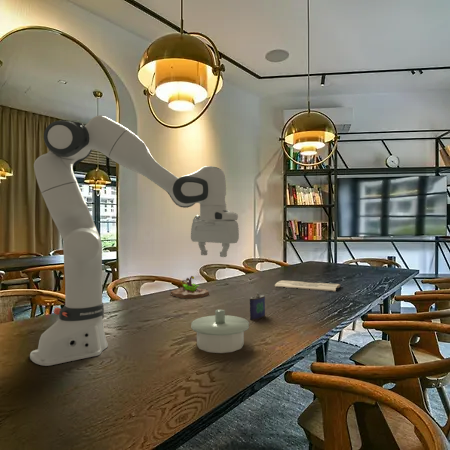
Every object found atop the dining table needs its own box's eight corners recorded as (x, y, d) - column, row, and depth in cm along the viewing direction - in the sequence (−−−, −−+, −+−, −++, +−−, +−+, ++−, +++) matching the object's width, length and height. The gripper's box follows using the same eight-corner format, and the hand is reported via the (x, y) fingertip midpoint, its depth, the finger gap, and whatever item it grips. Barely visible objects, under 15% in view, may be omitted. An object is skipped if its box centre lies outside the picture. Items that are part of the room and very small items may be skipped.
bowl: (219, 356, 106) (219, 336, 106) (188, 344, 117) (188, 326, 117) (252, 344, 117) (252, 326, 117) (220, 334, 128) (220, 317, 128)
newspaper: (340, 287, 221) (340, 283, 221) (335, 293, 203) (335, 288, 203) (283, 283, 237) (283, 279, 237) (273, 288, 220) (273, 283, 220)
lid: (220, 339, 104) (220, 321, 104) (179, 326, 117) (179, 311, 117) (260, 325, 117) (260, 310, 117) (220, 315, 131) (220, 301, 131)
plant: (184, 300, 185) (183, 279, 185) (166, 295, 201) (166, 275, 201) (214, 295, 197) (214, 275, 197) (195, 290, 213) (195, 272, 213)
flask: (261, 315, 154) (261, 290, 154) (267, 316, 152) (267, 291, 152) (248, 319, 147) (248, 293, 147) (254, 320, 145) (253, 294, 145)
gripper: (186, 215, 124) (186, 254, 124) (228, 214, 110) (228, 258, 110) (199, 215, 129) (200, 253, 129) (241, 214, 114) (241, 257, 114)
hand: (213, 256), depth 119 cm, fingers open, 8 cm apart
